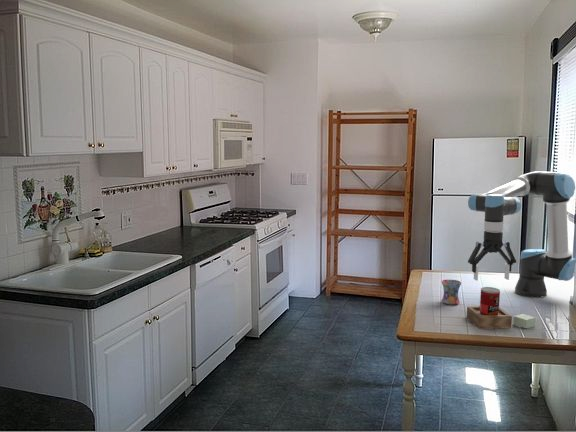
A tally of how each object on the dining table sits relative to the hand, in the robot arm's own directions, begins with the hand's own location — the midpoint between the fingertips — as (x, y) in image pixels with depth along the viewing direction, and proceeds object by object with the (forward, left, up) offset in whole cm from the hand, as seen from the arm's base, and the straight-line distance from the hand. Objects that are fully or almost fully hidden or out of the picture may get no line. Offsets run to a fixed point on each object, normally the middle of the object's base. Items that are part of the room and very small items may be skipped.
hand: (491, 279), depth 236 cm
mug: (+6, -30, -20) cm, 36 cm away
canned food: (0, 0, -16) cm, 16 cm away
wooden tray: (0, 0, -19) cm, 19 cm away
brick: (-14, +4, -20) cm, 24 cm away
